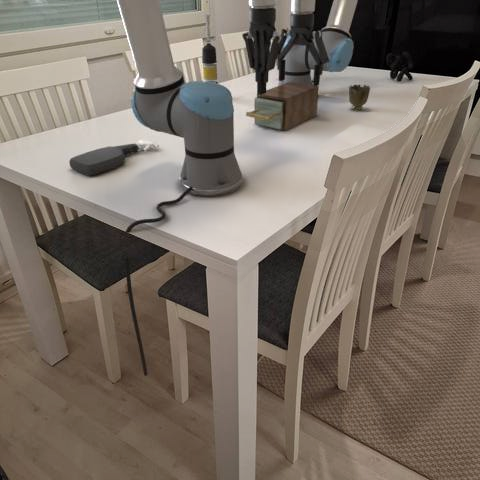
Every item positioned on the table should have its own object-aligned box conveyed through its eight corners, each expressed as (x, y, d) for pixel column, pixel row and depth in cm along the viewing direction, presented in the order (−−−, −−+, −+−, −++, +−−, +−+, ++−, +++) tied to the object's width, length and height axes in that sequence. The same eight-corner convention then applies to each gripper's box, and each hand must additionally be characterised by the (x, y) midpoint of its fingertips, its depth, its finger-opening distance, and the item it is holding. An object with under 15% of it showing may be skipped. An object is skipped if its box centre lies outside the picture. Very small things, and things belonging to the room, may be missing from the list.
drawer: (269, 134, 138) (270, 107, 134) (243, 128, 144) (243, 102, 139) (310, 114, 155) (312, 90, 150) (286, 110, 160) (286, 86, 156)
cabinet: (285, 131, 144) (286, 98, 138) (256, 124, 150) (256, 93, 144) (316, 115, 157) (318, 85, 152) (289, 110, 163) (290, 81, 158)
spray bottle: (67, 168, 120) (139, 144, 136) (91, 178, 114) (163, 151, 130) (65, 157, 118) (137, 134, 134) (89, 167, 112) (162, 142, 128)
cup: (344, 110, 161) (346, 87, 157) (349, 105, 167) (352, 83, 162) (364, 113, 158) (367, 90, 154) (369, 107, 164) (372, 85, 159)
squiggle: (400, 92, 202) (376, 71, 205) (417, 76, 202) (392, 56, 205) (405, 81, 191) (380, 59, 194) (423, 64, 191) (397, 42, 194)
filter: (220, 99, 177) (217, 15, 161) (206, 100, 176) (202, 16, 160) (215, 96, 182) (212, 14, 166) (202, 97, 180) (197, 14, 164)
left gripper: (289, 6, 123) (286, 93, 136) (251, 5, 130) (251, 88, 143) (274, 9, 118) (272, 99, 131) (235, 7, 125) (237, 93, 138)
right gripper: (344, 13, 136) (336, 85, 147) (276, 10, 149) (274, 76, 160) (332, 15, 131) (325, 89, 142) (263, 12, 144) (262, 80, 155)
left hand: (261, 93), depth 137 cm, fingers closed
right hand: (298, 82), depth 151 cm, fingers open, 13 cm apart
